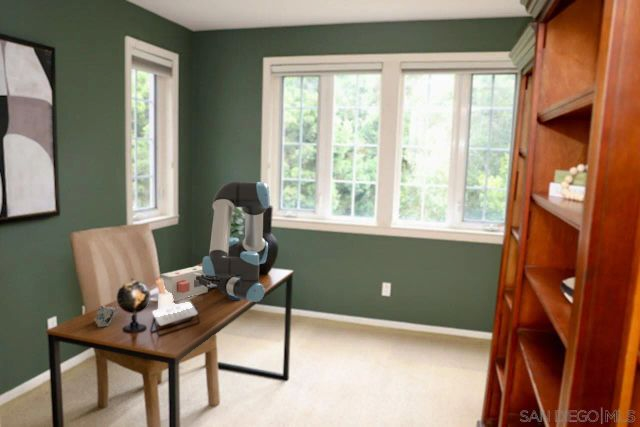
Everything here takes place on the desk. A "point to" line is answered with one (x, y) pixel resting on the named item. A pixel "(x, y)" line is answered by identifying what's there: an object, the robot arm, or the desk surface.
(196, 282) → the button
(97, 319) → the mineral specimen
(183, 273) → the push button box
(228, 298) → the perfume bottle
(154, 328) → the desk surface
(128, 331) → the desk surface
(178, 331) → the desk surface
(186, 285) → the button
